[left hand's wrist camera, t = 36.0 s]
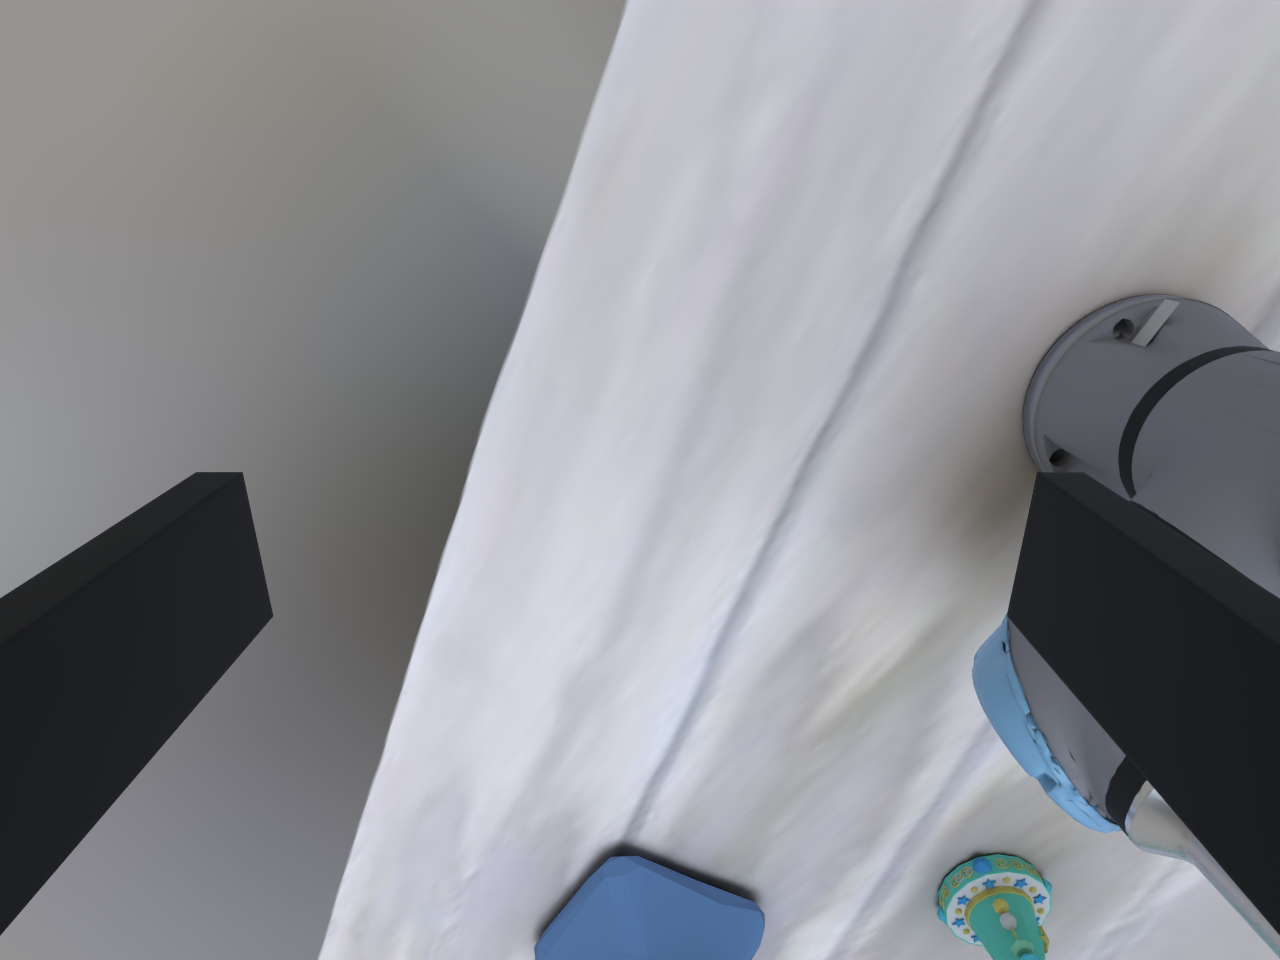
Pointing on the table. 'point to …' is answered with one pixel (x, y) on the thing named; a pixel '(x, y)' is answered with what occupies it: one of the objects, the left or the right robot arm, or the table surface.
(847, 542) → the table surface
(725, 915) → the figurine
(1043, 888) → the decorative hourglass
